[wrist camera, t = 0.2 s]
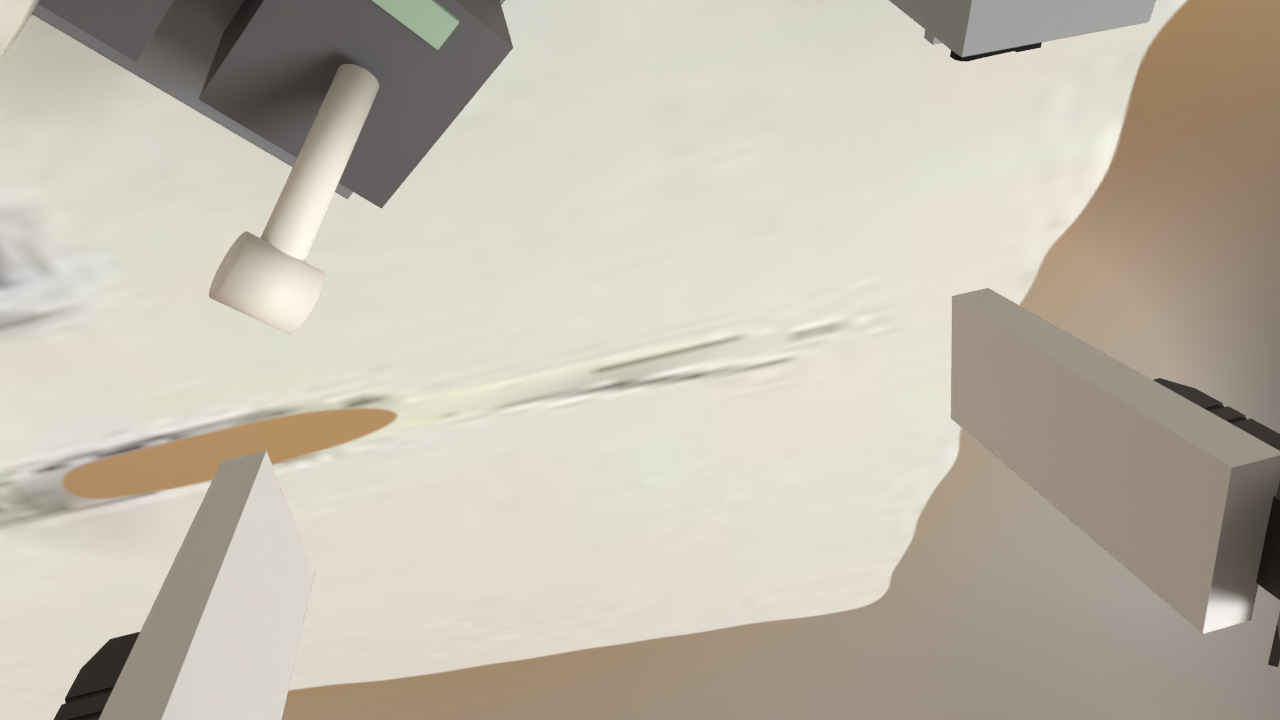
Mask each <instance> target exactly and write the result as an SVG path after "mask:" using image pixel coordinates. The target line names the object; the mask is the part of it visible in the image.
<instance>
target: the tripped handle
mask: <svg viewBox="0 0 1280 720" xmlns="http://www.w3.org/2000/svg"><path fill="white" fill-rule="evenodd" d="M38 2H39V0H0V54H1V55H3V54H4V53H5V52H6V51H7V50H8V49H9V47H10V46H11V45H12V43H13V42H14V40H15V39H16V37H17V36H18V35H19V33H20V32H21V30H22V28H23V27H24V25H25V24H26V22H27V21H28V19H29V17H30V16H31V14H32V12H33V11H34V9H35V7H36V6H37V4H38Z"/></svg>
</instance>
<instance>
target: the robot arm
mask: <svg viewBox="0 0 1280 720" xmlns="http://www.w3.org/2000/svg"><path fill="white" fill-rule="evenodd" d="M951 418H952V419H953V420H954V421H955V422H956V423H957V424H959V425H960V426H961V427H962V428H963V429H965V430H966V431H967V432H968V433H969V434H970V435H971V436H973V437H974V438H975V439H976V440H977V441H978V442H980V443H981V444H982V445H983V446H984V447H985V448H986V449H988V450H989V451H990V452H991V453H992V454H993V455H995V456H996V457H997V458H999V460H1001V461H1002V462H1003V463H1004V464H1005V465H1006V466H1008V467H1009V468H1010V469H1011V470H1012V471H1013V472H1015V473H1016V474H1017V475H1018V476H1019V477H1020V478H1022V479H1023V480H1024V481H1025V482H1026V483H1028V485H1030V486H1031V487H1032V488H1033V489H1034V490H1035V491H1037V492H1038V493H1039V494H1040V495H1041V496H1042V497H1044V498H1045V499H1046V500H1047V501H1048V502H1050V503H1051V504H1052V505H1053V506H1054V507H1055V508H1056V509H1058V510H1059V511H1060V512H1061V513H1062V514H1064V515H1065V516H1066V517H1067V518H1068V519H1069V520H1070V521H1072V522H1073V523H1074V524H1075V525H1076V526H1077V527H1079V528H1080V529H1081V530H1082V531H1083V532H1084V533H1086V534H1087V535H1088V536H1089V537H1090V538H1092V539H1093V540H1094V541H1095V542H1096V543H1097V544H1098V545H1100V546H1101V547H1102V548H1103V549H1104V550H1106V551H1107V552H1108V553H1109V554H1110V555H1112V557H1114V558H1115V559H1116V560H1117V561H1118V562H1120V563H1121V564H1122V565H1123V566H1124V567H1125V568H1126V569H1128V570H1129V571H1130V572H1131V573H1132V574H1134V575H1135V576H1136V577H1137V578H1138V579H1139V580H1140V581H1142V582H1143V583H1144V584H1145V585H1146V586H1147V587H1149V588H1150V589H1151V590H1152V591H1153V592H1154V593H1156V594H1157V595H1158V596H1159V597H1160V598H1161V599H1163V600H1164V601H1165V602H1166V603H1167V604H1169V605H1170V606H1171V607H1172V608H1173V609H1174V610H1175V611H1177V612H1178V613H1179V614H1180V615H1181V616H1182V617H1184V618H1185V619H1186V620H1187V621H1188V622H1189V623H1191V624H1192V625H1193V626H1194V627H1195V628H1197V629H1198V630H1199V631H1200V632H1201V633H1202V634H1203V633H1207V632H1210V631H1214V630H1218V629H1221V628H1224V627H1228V626H1231V625H1235V624H1238V623H1242V622H1245V621H1249V620H1251V617H1252V612H1253V607H1254V603H1255V597H1256V592H1257V588H1258V584H1259V585H1260V586H1262V587H1263V588H1264V589H1265V590H1267V591H1268V592H1270V593H1271V594H1272V595H1274V596H1275V597H1276V598H1278V599H1279V600H1280V434H1279V433H1277V432H1275V431H1273V430H1271V429H1269V428H1268V427H1266V426H1264V425H1262V424H1260V423H1258V422H1256V421H1255V420H1253V419H1248V420H1247V419H1246V417H1245V415H1243V414H1242V413H1240V412H1238V411H1236V410H1234V409H1232V408H1230V407H1224V406H1223V403H1221V402H1219V401H1217V400H1216V399H1214V398H1212V397H1210V396H1208V395H1206V394H1204V393H1203V392H1201V391H1199V390H1197V389H1195V388H1191V387H1188V386H1185V385H1181V384H1178V383H1175V382H1171V381H1168V380H1164V379H1161V378H1159V379H1155V380H1152V379H1150V378H1148V377H1146V376H1145V375H1143V374H1141V373H1139V372H1137V371H1136V370H1134V369H1132V368H1130V367H1129V366H1127V365H1125V364H1123V363H1121V362H1120V361H1118V360H1116V359H1114V358H1112V357H1111V356H1109V355H1107V354H1105V353H1103V352H1102V351H1100V350H1098V349H1096V348H1094V347H1093V346H1091V345H1089V344H1087V343H1086V342H1084V341H1082V340H1080V339H1078V338H1076V337H1074V336H1073V335H1071V334H1069V333H1068V332H1066V331H1064V330H1062V329H1060V328H1059V327H1057V326H1055V325H1053V324H1051V323H1050V322H1048V321H1046V320H1044V319H1042V318H1041V317H1039V316H1037V315H1035V314H1034V313H1032V312H1030V311H1028V310H1026V309H1024V308H1023V307H1021V306H1019V305H1017V304H1016V303H1014V302H1012V301H1010V300H1008V299H1007V298H1005V297H1003V296H1001V295H999V294H998V293H996V292H994V291H992V290H991V289H989V288H986V289H982V290H978V291H973V292H969V293H964V294H960V295H955V296H952V368H951ZM313 578H314V571H313V569H312V566H311V563H310V561H309V558H308V556H307V553H306V551H305V548H304V546H303V543H302V540H301V538H300V535H299V533H298V530H297V528H296V525H295V523H294V520H293V517H292V515H291V512H290V510H289V507H288V505H287V502H286V500H285V497H284V495H283V492H282V489H281V487H280V484H279V482H278V479H277V477H276V474H275V472H274V469H273V466H272V464H271V461H270V459H269V456H268V454H267V451H264V452H259V453H255V454H250V455H246V456H242V457H237V458H233V459H228V460H224V461H222V462H221V464H220V466H219V468H218V470H217V472H216V474H215V476H214V478H213V481H212V483H211V485H210V487H209V489H208V491H207V493H206V495H205V497H204V499H203V502H202V504H201V506H200V508H199V510H198V512H197V514H196V516H195V518H194V520H193V523H192V525H191V527H190V529H189V531H188V533H187V535H186V537H185V539H184V541H183V543H182V546H181V548H180V550H179V552H178V554H177V556H176V558H175V560H174V562H173V564H172V567H171V569H170V571H169V573H168V575H167V577H166V579H165V581H164V583H163V585H162V588H161V590H160V592H159V594H158V596H157V598H156V600H155V602H154V604H153V606H152V609H151V611H150V613H149V615H148V617H147V619H146V621H145V623H144V625H143V627H142V630H141V632H137V633H133V634H129V635H125V636H121V637H117V638H113V639H110V640H109V641H108V642H107V643H106V644H105V645H104V646H103V647H102V648H101V649H100V650H99V651H98V652H97V653H96V654H95V655H94V656H93V657H92V658H91V659H90V660H89V661H88V662H87V663H86V664H85V665H84V666H83V667H82V668H81V670H80V672H79V674H78V675H77V677H76V679H75V681H74V683H73V685H72V687H71V688H70V690H69V692H68V694H67V696H66V698H65V701H66V703H65V704H63V705H61V707H60V709H59V711H58V713H57V714H56V716H55V718H54V720H281V719H282V715H283V710H284V706H285V701H286V697H287V693H288V688H289V684H290V680H291V675H292V671H293V666H294V662H295V658H296V653H297V649H298V644H299V640H300V636H301V631H302V627H303V622H304V618H305V614H306V609H307V605H308V600H309V596H310V591H311V587H312V583H313ZM1279 662H1280V614H1279V618H1278V622H1277V627H1276V631H1275V636H1274V641H1273V645H1272V650H1271V654H1270V658H1269V663H1268V665H1271V666H1276V667H1278V665H1279Z"/></svg>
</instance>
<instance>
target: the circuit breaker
mask: <svg viewBox="0 0 1280 720" xmlns="http://www.w3.org/2000/svg"><path fill="white" fill-rule="evenodd" d="M890 1H891V2H892V3H893V4H894V5H896V6H897V7H898V8H899V9H901V10H902V11H903V12H904V13H906V14H907V15H908V16H909V17H911V18H913V20H914V21H916V22H917V23H918V24H919V25H921V26H922V27H923V28H924V29H925V37H924V38H925V39H927V40H928V41H929V42H930V43H931V44H933V45H934V44H940V43H943V44H944V45H946V46H947V47H948V48H949V49H951V54H950V57H952V58H953V59H955V60H958V61H971V60H975V59H979V58H983V57H988V56H993V55H997V54H1002V53H1006V52H1011V51H1016V52H1020V51H1025V50H1030V49H1035V48H1041V43H1042V42H1046V41H1051V40H1056V39H1062V38H1067V37H1072V36H1077V35H1083V34H1088V33H1093V32H1099V31H1104V30H1109V29H1115V28H1120V27H1125V26H1130V25H1136V24H1141V23H1146V22H1148V21H1149V20H1150V17H1151V14H1152V11H1153V8H1154V4H1155V1H1156V0H890Z"/></svg>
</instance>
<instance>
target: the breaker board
mask: <svg viewBox="0 0 1280 720" xmlns="http://www.w3.org/2000/svg"><path fill="white" fill-rule="evenodd" d="M504 1H505V0H39V2H38V4H37V6H36V7H35V9H34V11H33V12H32V14H33V15H35V16H36V17H38V18H40V19H41V20H43V21H45V22H47V23H48V24H50V25H52V26H53V27H55V28H57V29H58V30H60V31H62V32H64V33H65V34H67V35H69V36H70V37H72V38H74V39H76V40H77V41H79V42H81V43H82V44H84V45H86V46H87V47H89V48H91V49H93V50H94V51H96V52H98V53H99V54H101V55H103V56H104V57H106V58H108V59H110V60H111V61H113V62H115V63H116V64H118V65H120V66H122V67H123V68H125V69H127V70H128V71H130V72H132V73H133V74H135V75H137V76H139V77H140V78H142V79H144V80H145V81H147V82H149V83H150V84H152V85H154V86H156V87H157V88H159V89H161V90H162V91H164V92H166V93H167V94H169V95H171V96H173V97H174V98H176V99H178V100H179V101H181V102H183V103H185V104H186V105H188V106H190V107H191V108H193V109H195V110H196V111H198V112H200V113H202V114H203V115H205V116H207V117H208V118H210V119H212V120H213V121H215V122H217V123H219V124H220V125H222V126H224V127H225V128H227V129H229V130H230V131H232V132H234V133H236V134H237V135H239V136H241V137H242V138H244V139H246V140H248V141H249V142H251V143H253V144H254V145H256V146H258V147H259V148H261V149H263V150H265V151H266V152H268V153H270V154H271V155H273V156H275V157H276V158H278V159H280V160H282V161H283V162H285V163H287V164H288V165H290V166H292V167H293V168H292V171H291V173H290V175H289V177H288V179H287V181H286V184H285V186H284V188H283V190H282V192H281V195H280V197H279V199H278V201H277V203H276V205H275V208H274V210H273V212H272V214H271V216H270V219H269V221H268V223H267V225H266V227H265V229H264V232H263V234H262V236H261V238H258V237H256V236H255V235H253V234H251V233H249V232H244V233H243V234H242V235H241V236H240V237H239V238H238V239H237V240H236V241H235V243H234V244H233V245H232V247H231V248H230V250H229V251H228V253H227V254H226V256H225V257H224V259H223V261H222V263H221V265H220V266H219V268H218V270H217V272H216V275H215V277H214V279H213V282H212V284H211V287H210V291H209V297H210V298H212V299H214V300H216V301H218V302H220V303H222V304H225V305H227V306H229V307H231V308H233V309H235V310H237V311H240V312H242V313H244V314H246V315H248V316H250V317H253V318H255V319H257V320H259V321H261V322H263V323H265V324H268V325H270V326H272V327H274V328H276V329H278V330H281V331H283V332H285V333H287V334H291V333H293V332H295V331H296V330H297V329H298V328H299V327H300V326H301V325H302V324H303V322H304V321H305V320H306V318H307V317H308V315H309V314H310V312H311V311H312V309H313V307H314V305H315V303H316V301H317V299H318V297H319V295H320V292H321V289H322V286H323V282H324V272H323V271H321V270H320V269H318V268H316V267H314V266H312V265H310V264H308V263H306V262H305V260H306V257H307V255H308V253H309V250H310V248H311V246H312V243H313V241H314V239H315V236H316V234H317V232H318V229H319V227H320V225H321V222H322V220H323V218H324V215H325V213H326V211H327V208H328V206H329V204H330V201H331V199H332V197H333V194H334V192H336V193H338V194H339V195H341V196H343V197H345V198H346V199H348V198H349V196H350V195H351V194H352V193H353V192H355V193H356V194H358V195H360V196H361V197H363V198H365V199H367V200H368V201H370V202H372V203H373V204H375V205H377V206H378V207H380V208H382V207H383V206H384V205H385V204H386V202H387V201H388V200H389V199H390V198H391V196H392V195H393V194H394V193H395V191H396V190H397V189H398V188H399V187H400V185H401V184H402V183H403V182H404V180H405V179H406V178H407V177H408V176H409V174H410V173H411V172H412V171H413V169H414V168H415V167H416V166H417V165H418V163H419V162H420V161H421V160H422V158H423V157H424V156H425V155H426V154H427V152H428V151H429V150H430V149H431V147H432V146H433V145H434V144H435V143H436V141H437V140H438V139H439V138H440V136H441V135H442V134H443V133H444V132H445V130H446V129H447V128H448V127H449V125H450V124H451V123H452V122H453V121H454V119H455V118H456V117H457V116H458V114H459V113H460V112H461V111H462V110H463V108H464V107H465V106H466V105H467V103H468V102H469V101H470V100H471V99H472V97H473V96H474V95H475V94H476V92H477V91H478V90H479V89H480V88H481V86H482V85H483V84H484V83H485V81H486V80H487V79H488V78H489V77H490V75H491V74H492V73H493V72H494V70H495V69H496V68H497V67H498V66H499V64H500V63H501V62H502V61H503V59H504V58H505V57H506V56H507V55H508V53H509V52H510V51H511V50H512V48H513V46H512V42H511V39H510V35H509V32H508V28H507V25H506V21H505V18H504V14H503V10H502V7H501V5H502V3H503V2H504Z"/></svg>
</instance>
